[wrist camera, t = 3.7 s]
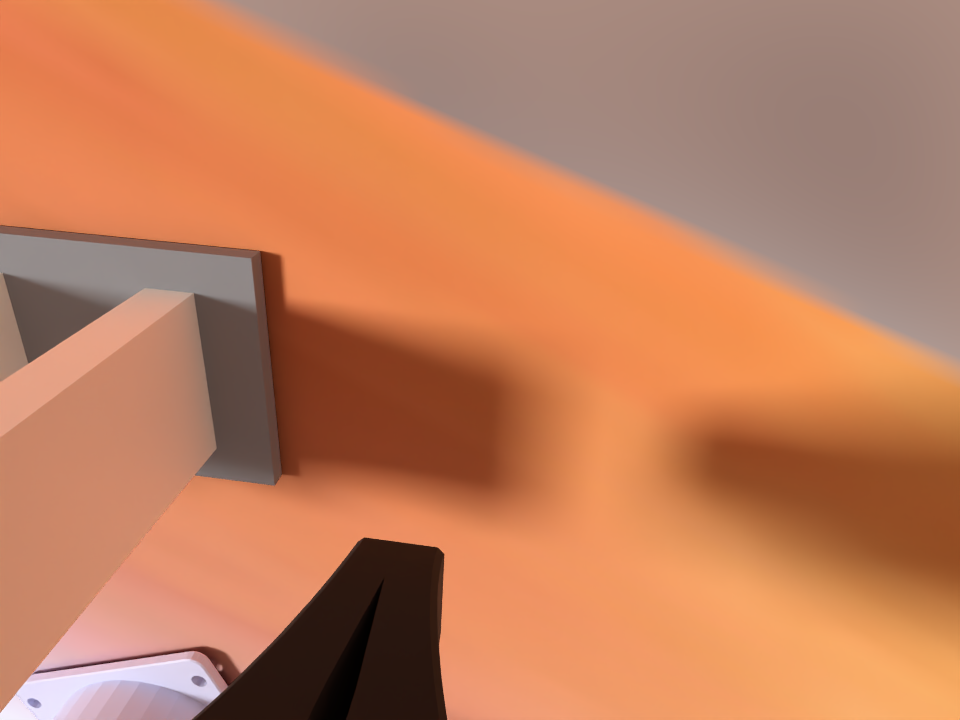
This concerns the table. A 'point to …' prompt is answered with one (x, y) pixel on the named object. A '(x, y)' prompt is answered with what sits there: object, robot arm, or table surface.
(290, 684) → the robot arm
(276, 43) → the table surface
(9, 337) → the tile
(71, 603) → the tile
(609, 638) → the table surface
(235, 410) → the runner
